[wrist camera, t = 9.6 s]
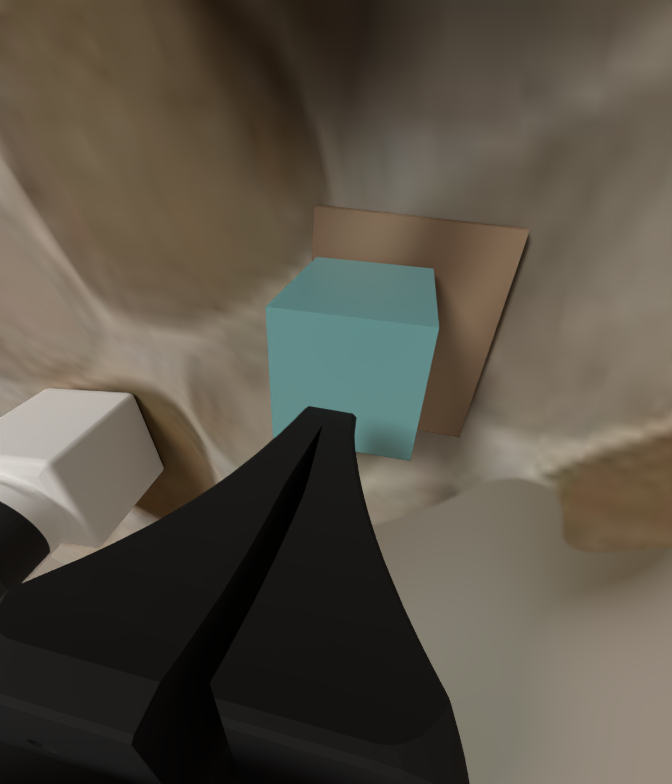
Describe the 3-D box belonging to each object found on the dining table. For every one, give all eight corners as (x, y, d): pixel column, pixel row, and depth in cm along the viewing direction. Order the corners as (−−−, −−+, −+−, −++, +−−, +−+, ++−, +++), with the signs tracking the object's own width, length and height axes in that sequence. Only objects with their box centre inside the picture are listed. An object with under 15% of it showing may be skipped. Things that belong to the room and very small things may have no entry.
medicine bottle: (46, 385, 26) (-181, 526, 16) (134, 391, 25) (-56, 548, 15) (88, 461, 30) (-76, 612, 20) (167, 469, 29) (32, 635, 19)
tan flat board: (527, 228, 15) (529, 230, 15) (458, 431, 21) (459, 437, 21) (316, 204, 16) (314, 206, 16) (308, 404, 23) (306, 409, 22)
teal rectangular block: (433, 268, 16) (439, 327, 11) (413, 372, 19) (410, 460, 13) (316, 256, 17) (265, 306, 11) (314, 358, 20) (272, 437, 14)
